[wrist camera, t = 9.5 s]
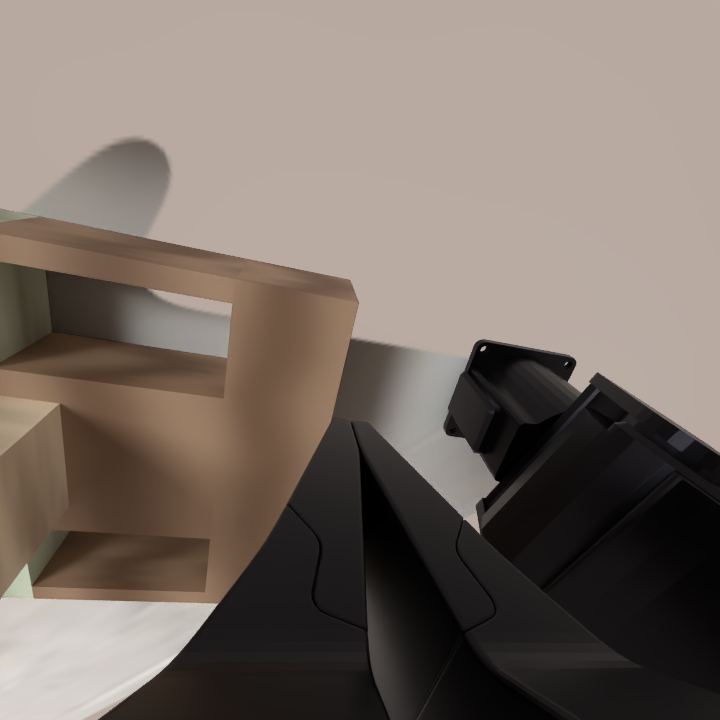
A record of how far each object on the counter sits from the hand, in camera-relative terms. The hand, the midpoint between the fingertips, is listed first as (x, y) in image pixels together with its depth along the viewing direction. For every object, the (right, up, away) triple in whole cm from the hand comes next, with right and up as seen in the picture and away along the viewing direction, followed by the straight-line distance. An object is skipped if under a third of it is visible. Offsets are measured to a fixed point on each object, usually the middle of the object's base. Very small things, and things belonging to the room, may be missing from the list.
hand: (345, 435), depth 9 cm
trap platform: (-12, -1, +13) cm, 17 cm away
